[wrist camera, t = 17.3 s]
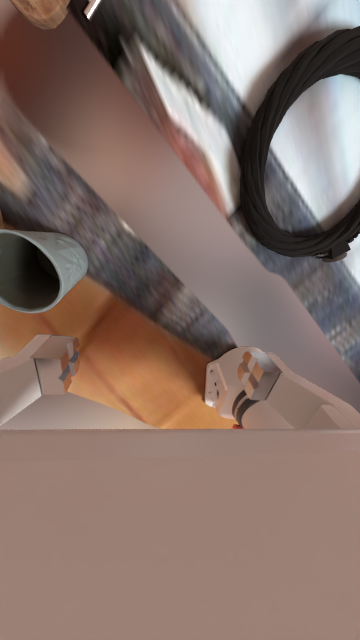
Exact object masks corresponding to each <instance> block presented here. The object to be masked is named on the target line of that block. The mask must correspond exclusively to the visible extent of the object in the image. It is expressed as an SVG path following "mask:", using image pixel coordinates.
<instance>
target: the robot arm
mask: <svg viewBox="0 0 360 640" xmlns="http://www.w3.org/2000/svg"><path fill="white" fill-rule="evenodd" d="M78 347H79V339H78V338H77V337H67V336H57V335H47V334H38V335H36V336H35V337H34V338H33V339H32V340H31V341H30V342H29V343H28V344H27V345H26V346H24V347H23V348H22V349H21V350H20V351H19V352H18V353H17V354H16V355H15V356H14V357H7V358H5V359H2V360H0V426H1V425H2V424H3V423H5V422H6V421H8V420H9V419H10V418H12V417H13V416H14V415H16V414H17V413H18V412H20V411H21V410H23V409H24V408H25V407H27V406H28V405H29V404H31V403H32V402H33V401H35V400H36V399H37V398H39V397H40V396H42V395H41V394H65V393H66V392H67V390H68V388H69V386H70V384H71V382H72V381H71V377H72V376H74V375H75V374H76V373H77V371H78V368H79V364H80V353H79V352H78V351H77V349H78ZM205 403H206V404H207V405H209V406H211V407H215V408H216V411H217V413H218V414H219V415H220V416H222V417H225V418H229V419H236V421H237V422H238V423H239V424H240V425H236V424H234V425H233V429H82V430H81V429H74V430H73V429H70V430H69V429H64V430H63V429H62V430H61V429H59V430H58V429H50V430H49V429H48V430H46V429H45V430H0V640H360V414H359V413H358V412H357V411H356V410H355V409H354V408H353V407H352V406H351V405H349V404H348V403H346V402H344V401H342V400H340V399H339V398H337V397H335V396H333V395H332V394H330V393H328V392H326V391H325V390H323V389H321V388H320V387H318V386H316V385H314V384H313V383H311V382H309V381H307V380H306V379H304V378H302V377H300V376H299V375H297V374H293V373H292V372H291V371H290V370H289V369H288V367H287V366H286V365H285V364H284V363H283V362H282V361H281V360H280V359H279V358H278V356H277V355H276V354H274V353H269V352H262V351H261V350H260V349H258V348H255V347H251V346H243V347H238V348H235V349H232V350H230V351H228V352H227V353H225V354H224V355H223V356H221V357H220V358H219V359H217V360H215V361H212V362H210V363H208V364H207V369H206V384H205Z"/></svg>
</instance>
